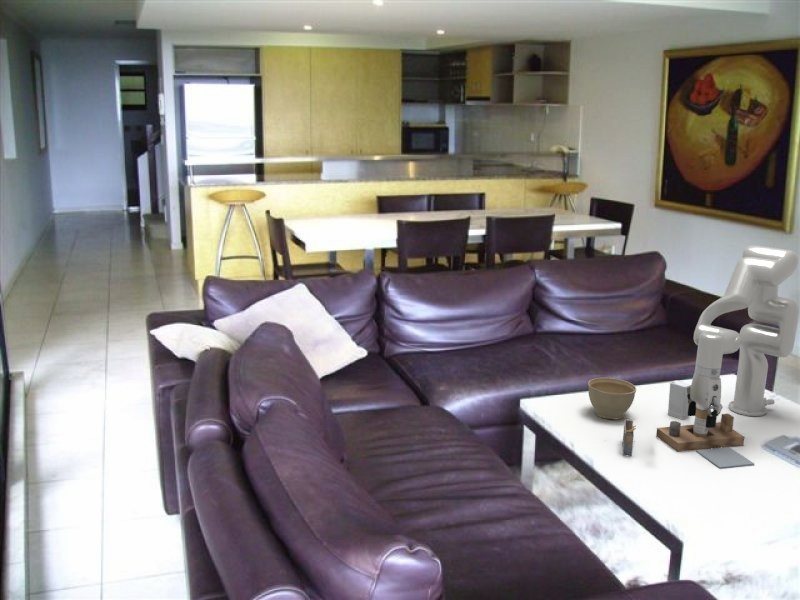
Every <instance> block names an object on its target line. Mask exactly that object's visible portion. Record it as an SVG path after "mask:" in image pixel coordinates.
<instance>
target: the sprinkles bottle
mask: <svg viewBox="0 0 800 600" xmlns="http://www.w3.org/2000/svg"><path fill="white" fill-rule="evenodd" d="M710 406H712V405H710ZM707 415H708V412H707V408H704V407H703V406H701V405H699V404H698V403H696V414H695V416H694V422H693V425H694V429H693V430H694V431H693V435H695V436H696V437H706V436H707V433H708V428H707V427H706V419H707Z"/></svg>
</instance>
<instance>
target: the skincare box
mask: <svg viewBox="0 0 800 600" xmlns="http://www.w3.org/2000/svg"><path fill="white" fill-rule="evenodd" d="M689 387H691V384H690V383H687V382H684V381H679V380H674V381H672V382H670V383H669V394H668V405H667V406H668V407H667V408H668V410H667V415H668V416H671V417H674V418H676V419H680V420H686V419H688V418H689V417H690V416H688V407H689V404H688V397H687V395H688V394H687V388H689Z"/></svg>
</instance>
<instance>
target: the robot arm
mask: <svg viewBox="0 0 800 600" xmlns="http://www.w3.org/2000/svg"><path fill="white" fill-rule="evenodd" d="M798 265H799V256H798V254H797V253H796V252H795V251H794V250H791V249H785V248H779V247H771V246H765V245H764V246H763V245H748V246H746V247H745V248H743V250H742V257H741V258H739V259H738V260H737V262H736V264H735V266H734V269H733V272H732V274H731V276H730V280H729V282H728V283H727V287H726V289H725V292H724V295H723V296H721V297H720V298H718V299H717V300H715V301H713V302H712V303H711V304H709V306H707V307H706V308H705V309H704V310H703V311H702V313H701V314H700V316H699V318H698V320H697V321H698V322H697V324H696V326H695V329H694V332H693V342H694V343H695V345H696V346H697V351H696V359H695V368H694V373H693V376H692V380H691V384H690V385H691V387H689V388H687V394H688V395H687V397H688V404H689V407H688V416H689V417H695V414H696V403H698V404H699V405H701V406H703V407H704V408H707V412H708V415H707V419H706V427H707V428H714V427H715V426H716V423H717V418H718V416H719V415H720V414H721V413H722V410H723V408H724V407H723V405H722V403H721V402H722V401H721V400H722V378H721V372H722V365H723V363H722V362H723V357H724V356H723V355H729V354H734V353H735V352H737V351H738V350H739V356H738V357H739V358H738V365H737V366H738V367H737V374H736V382H735V390H734V396H733V400H731V401H730V402H729V403H728V405H727V406H728V407H727V408H728V409H729V410H730V411H731V412H734V413H736V414H740V415H743V416H748V417H762V416H765V415H766V414H767V411H768V409H767V408H766V406H772V405H775V403H776V402H775V400H774V399H773V398H768V399H767V397H765V391H766V386H767V385H766V384H767V377H768V369H769V364H768V363H769V362H768V359H767V358H766V357H767V356H765V355H768V356H769V355H770V356H771V357H772V356H773V357H778V358H788V357H789V356H790V355H791V354H792V352H793V351H794V350H793V349H794V346H795V341H796V335H797V330H798V322H799V314H800V307H799V304H798V303H797V301H796V300H794V299H791V298H789V297H781V296H779V295H778V291H779V286H780V285H781V284H783V283H784V282H785V281H786V280H787V279H788V278H790V277H791V276H792V275H793V274H794V273H795V271H796V270H797V268H798ZM743 309H747V313H748V316H749V318H750V319H752V320H754V321H758V322H762V323H766V324H771V325H775V326H777V327H778V328H777V327H774V326H769V325H764V324H758V323H748V324H745V325H743V326H742V327H741V329H740V331H739V332H738V331H736V330H732V329H728V328H724V327H720V326H714V325H712V322H713V321H714V320H715V319H716V318H718V317H719V316H721V315H723V314H726V313H727V314H728V313H730V312H735V311H739V310H743ZM710 405H711V406H710Z"/></svg>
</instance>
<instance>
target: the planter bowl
mask: <svg viewBox="0 0 800 600" xmlns="http://www.w3.org/2000/svg"><path fill="white" fill-rule="evenodd" d="M587 386H588V398H589V401H590V404H591V406H592V408H593V409H594V413H595V415H596V416H598V417H600V418H603V419H607V420H619V419H622V418H623V417H624V415H625V413H626V412H627V411H628V410H629V409H630V407H631V406H632V405H633V403H634V400H635V396H636V392H637V387H636V385H634V384H633V383H631V382H629V381H628V380H627V381H626V380H623V379H620V378H615V377H614V378H611V377H597V378H593V379H590V380H589V381H588V384H587Z"/></svg>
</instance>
